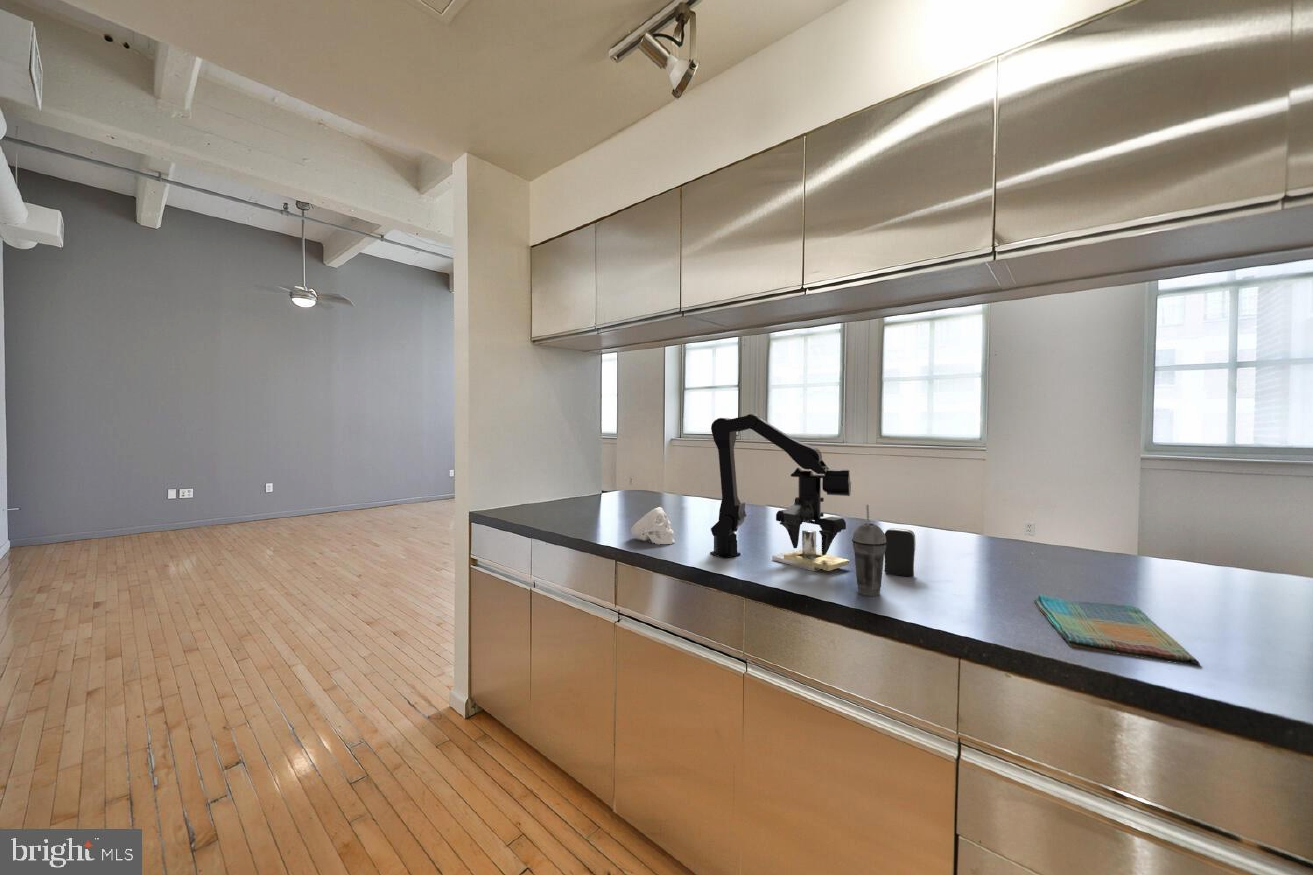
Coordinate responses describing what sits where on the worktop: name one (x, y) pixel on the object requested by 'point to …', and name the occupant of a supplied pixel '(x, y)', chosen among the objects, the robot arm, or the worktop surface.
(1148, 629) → the dish towel
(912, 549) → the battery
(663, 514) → the skull bowl
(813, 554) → the pin
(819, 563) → the cream inset tray
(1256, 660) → the worktop surface
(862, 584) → the beverage cup
